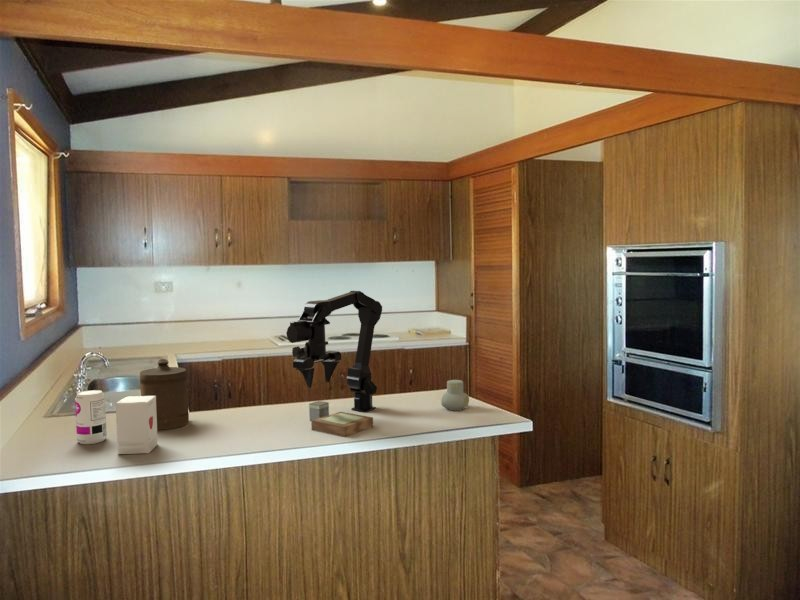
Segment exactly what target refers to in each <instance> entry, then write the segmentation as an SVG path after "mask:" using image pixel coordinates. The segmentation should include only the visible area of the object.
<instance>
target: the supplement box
mask: <svg viewBox="0 0 800 600" xmlns="http://www.w3.org/2000/svg"><path fill="white" fill-rule="evenodd" d="M115 417H116V419H115V420H116V444H117V448H116V449H117V455H135V454H138V455H139V454H150V452H152V451H153V450H154V449H155V447H157V446H158V445H159V444H158V430H157V414H156V396H140V395H137V396H130V395H129V396H126V397H123V398H122V399H120V400H118V401H117V402H116V403H115Z"/></svg>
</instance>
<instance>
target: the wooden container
mask: <svg viewBox="0 0 800 600" xmlns="http://www.w3.org/2000/svg"><path fill="white" fill-rule="evenodd" d="M187 382H188V381H187V369H186V368H184V367H180V366H170V365H169V361H168V359H166V358H160V359H159V360H158V361H157V367H154V368H153V367H152V368H148V369H147V368H146V369H144V370H141V371H140V372H139V385H140V386H139V390H140V392H139V393H140V395H139V396H156V414H157V431H163V430H171V429H172V430H173V429H177V428H180V427H183V426H186V425H188V424H189V422H190V419H189V415H190V414H189V397H188V385H187Z"/></svg>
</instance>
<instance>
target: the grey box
mask: <svg viewBox="0 0 800 600" xmlns="http://www.w3.org/2000/svg"><path fill="white" fill-rule="evenodd" d="M329 406H330V402H328V401H327V402H326V401H322V400H321V401H320V400H316V401H313V402H310V403H308V407H309V408H308V410H309V411H308V412H309V422H311V421H312V420H315V419H318V418H322V417H325V416H328V415H330V411H329V409H330V407H329Z"/></svg>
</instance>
